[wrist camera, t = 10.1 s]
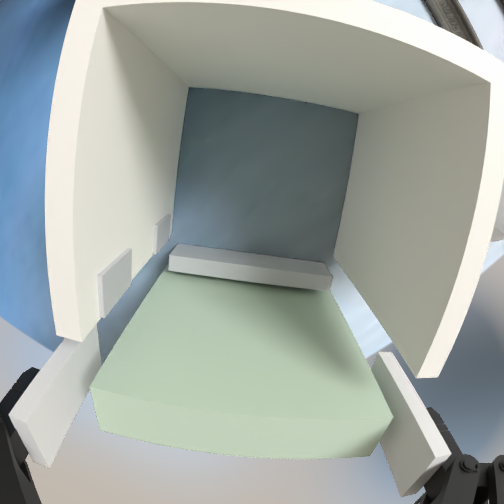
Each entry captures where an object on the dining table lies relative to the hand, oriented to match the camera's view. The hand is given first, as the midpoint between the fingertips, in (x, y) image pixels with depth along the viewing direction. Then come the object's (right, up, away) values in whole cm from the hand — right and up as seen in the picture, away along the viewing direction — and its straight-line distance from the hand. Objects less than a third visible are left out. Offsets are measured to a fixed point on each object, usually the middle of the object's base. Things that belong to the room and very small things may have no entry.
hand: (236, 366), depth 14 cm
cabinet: (+1, +8, +7) cm, 11 cm away
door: (0, +2, +9) cm, 9 cm away
